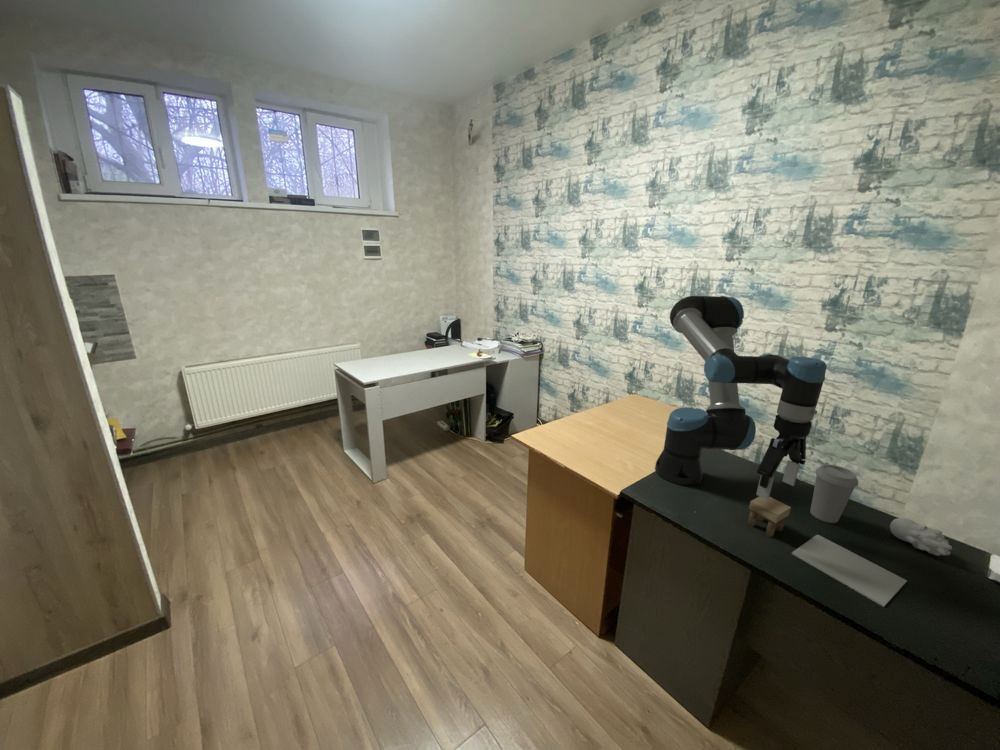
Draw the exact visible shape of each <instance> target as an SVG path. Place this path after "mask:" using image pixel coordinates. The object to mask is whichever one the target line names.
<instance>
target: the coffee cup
mask: <svg viewBox="0 0 1000 750" xmlns="http://www.w3.org/2000/svg"><path fill="white" fill-rule="evenodd" d="M814 473H815V475H816V476H815V483H814V489H813V495H812V499H811V500H812V501H811V505H810V511H809V512H810V514H811V515H812V516H813V517H814V518H816V519H818V520H819V521H822V522H825V523H830V524H836V523H838V522H839V521H840V518H841V516H842V514H843V512H844V510H845V508H846V506H847V504H848V502H849V500H850V499H851V496H852V494H853V492H854V490H855V488H856V487H858V486H859V480H858V478H857V475H856V473H855V472H853V471H851V470H850V469H848V468H845V467H843V466H839V465H837V464H836V465H835V464H829V463H828V464H827V463H826V464H821V465H819V467H817V468H816V469H815V472H814Z"/></svg>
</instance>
